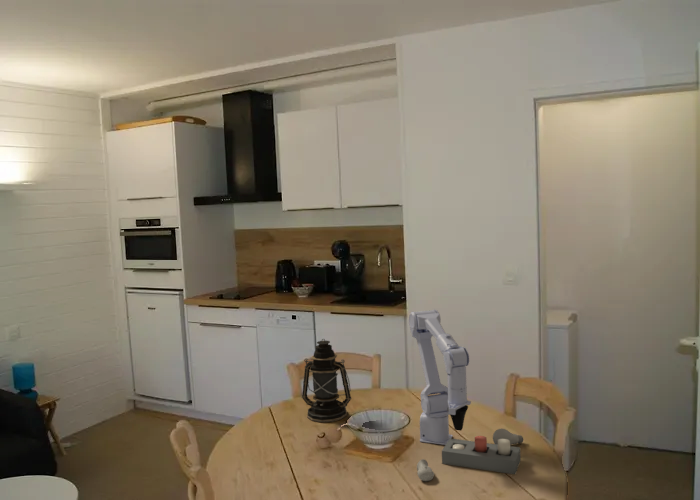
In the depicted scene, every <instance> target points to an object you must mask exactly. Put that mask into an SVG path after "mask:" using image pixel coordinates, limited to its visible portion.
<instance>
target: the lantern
mask: <svg viewBox="0 0 700 500" xmlns="http://www.w3.org/2000/svg"><path fill="white" fill-rule="evenodd" d="M330 343H331V341H330V340H325V338H322V339H321V340H319V341H316V344H317V345H316V346H315V350H314V352H313V355H312V356H311V357H310V360H309V359H308V358H304V359H303V361H304V362H305V366H304V374H303V381H302V393H301V399H302V400H303V401H304V403H305V404H306V406H309V408H307V414H306V415H307V418H308V419H309V420H310V421H312V422H315V423H316V422H317V423H333V422H337V421H340V420H342V419H343V418H346V416H347V415H348V411H347V406H348V404H349V403H350V402H351V400H352V396H351V392H352V390H351V382H350V378H349V376H348V372H347V370H346V367H345V364H344V363H345V359H344V358H343V359H340V361H336V359H337V357H338V354H337V353H335V351H334V349H332V348H333V346H332V344H330ZM338 371H340V372H339V373H340V376H341V381H342V386H343V390H344V393H343V394H341V396H345V399H344V400H343V401H341V400H339V399H340V394H339V393H338V392H339V388H338V374H339V373H337V372H338ZM310 373H312V374H311V377H312V384H313V385H312V387H313V389H311V388H310V385H309V383H310V382H309V378H310ZM308 391H311V392H312V393H314V395H313V397H312V400H311V399H310V398H309V396H308ZM313 400H314V401H313Z"/></svg>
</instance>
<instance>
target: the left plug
mask: <svg viewBox="0 0 700 500" xmlns="http://www.w3.org/2000/svg"><path fill="white" fill-rule="evenodd" d="M453 449H460V450H464V445H461V444H455V445H453Z"/></svg>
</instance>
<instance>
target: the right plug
mask: <svg viewBox="0 0 700 500" xmlns="http://www.w3.org/2000/svg"><path fill="white" fill-rule="evenodd" d="M510 446H511V445H510V441H509V440H508V439H499V440H498V454H500V455H504V456H507V455H510Z"/></svg>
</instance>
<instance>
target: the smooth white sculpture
mask: <svg viewBox="0 0 700 500" xmlns="http://www.w3.org/2000/svg"><path fill="white" fill-rule="evenodd" d="M416 471H417V476H418V479H420V480H421V481H422V482H430V481H432V480H433V478H434V476H435V472H434V471H433V468H431V467H430V466H429V464H428V461H427V460H426V459H425V458H422V459H420V460H419V461H418V462H417V464H416Z"/></svg>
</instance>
